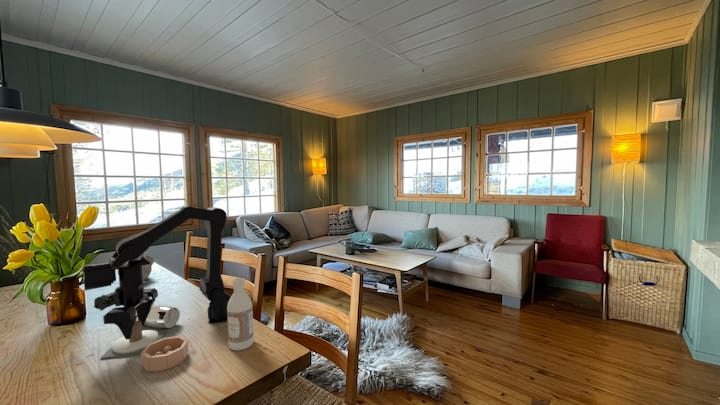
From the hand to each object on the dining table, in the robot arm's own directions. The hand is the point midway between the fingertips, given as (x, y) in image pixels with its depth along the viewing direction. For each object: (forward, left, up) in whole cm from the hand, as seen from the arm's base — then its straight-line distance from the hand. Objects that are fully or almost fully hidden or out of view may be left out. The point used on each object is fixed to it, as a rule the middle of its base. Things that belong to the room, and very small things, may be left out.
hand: (135, 331), depth 89 cm
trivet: (0, 0, -4) cm, 4 cm away
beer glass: (+7, -16, -1) cm, 17 cm away
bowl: (-12, +11, -4) cm, 17 cm away
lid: (0, 0, -4) cm, 4 cm away
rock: (+29, -66, -4) cm, 72 cm away
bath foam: (-31, +8, -4) cm, 32 cm away
